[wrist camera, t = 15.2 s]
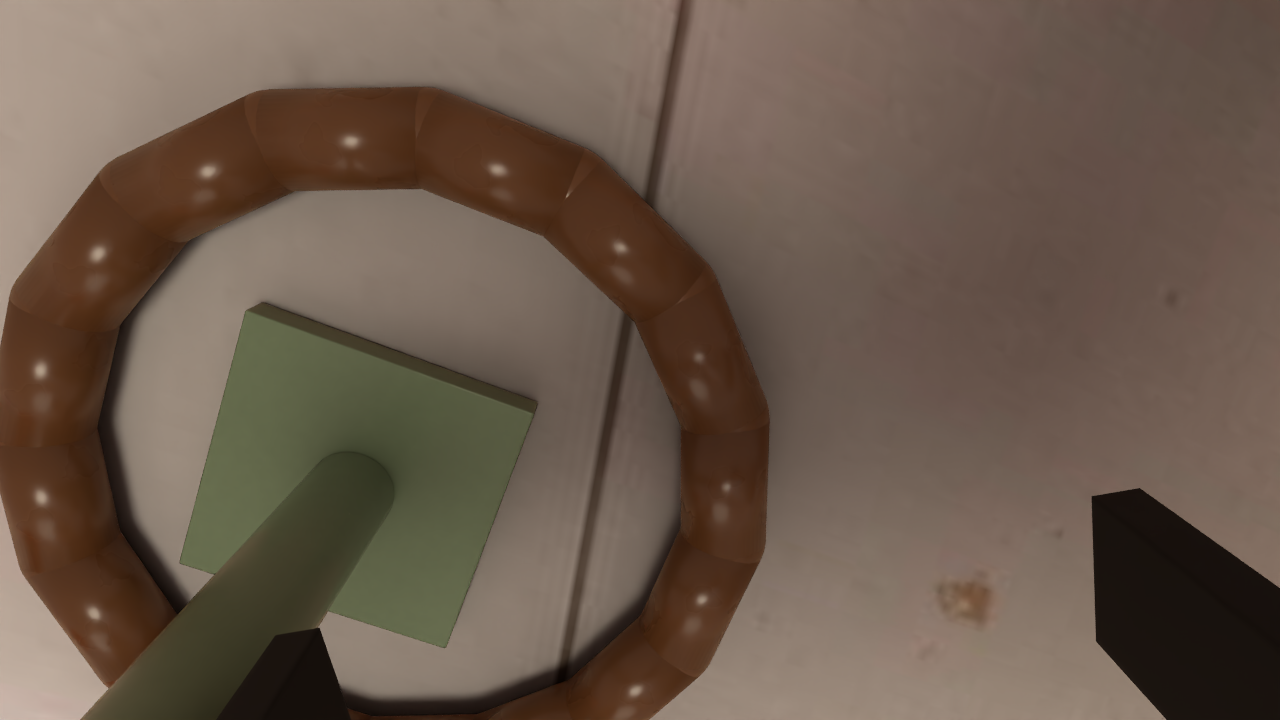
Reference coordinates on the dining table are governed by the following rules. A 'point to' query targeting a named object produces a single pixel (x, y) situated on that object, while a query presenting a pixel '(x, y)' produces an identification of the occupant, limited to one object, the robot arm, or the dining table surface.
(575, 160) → the ring
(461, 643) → the dining table surface
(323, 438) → the post
